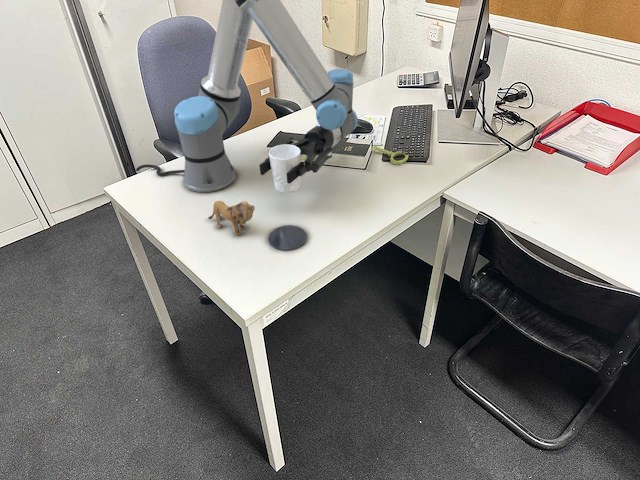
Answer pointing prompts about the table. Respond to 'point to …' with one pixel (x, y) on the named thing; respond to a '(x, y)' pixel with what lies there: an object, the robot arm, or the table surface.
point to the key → (391, 155)
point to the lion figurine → (233, 214)
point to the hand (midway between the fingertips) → (274, 174)
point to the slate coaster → (287, 237)
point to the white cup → (284, 166)
